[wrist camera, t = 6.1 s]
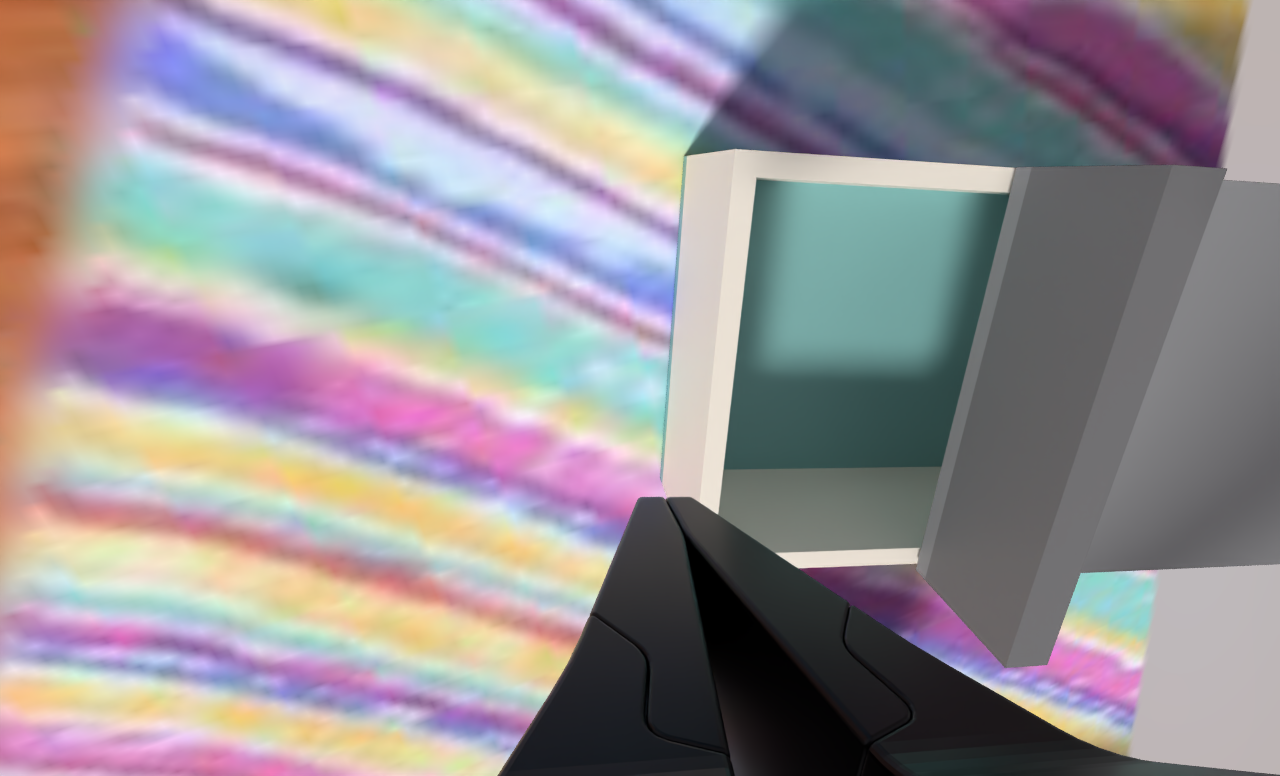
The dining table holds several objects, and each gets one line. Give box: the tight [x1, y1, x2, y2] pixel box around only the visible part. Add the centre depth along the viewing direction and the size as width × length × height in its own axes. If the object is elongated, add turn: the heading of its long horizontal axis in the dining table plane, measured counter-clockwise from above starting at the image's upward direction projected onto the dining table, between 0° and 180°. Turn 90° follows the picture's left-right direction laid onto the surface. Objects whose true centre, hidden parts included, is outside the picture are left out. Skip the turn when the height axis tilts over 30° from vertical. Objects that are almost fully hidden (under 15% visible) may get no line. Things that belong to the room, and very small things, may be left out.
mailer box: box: [660, 149, 1016, 568], centre depth 20 cm, size 12×14×6 cm
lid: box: [916, 165, 1280, 668], centre depth 16 cm, size 12×14×4 cm
